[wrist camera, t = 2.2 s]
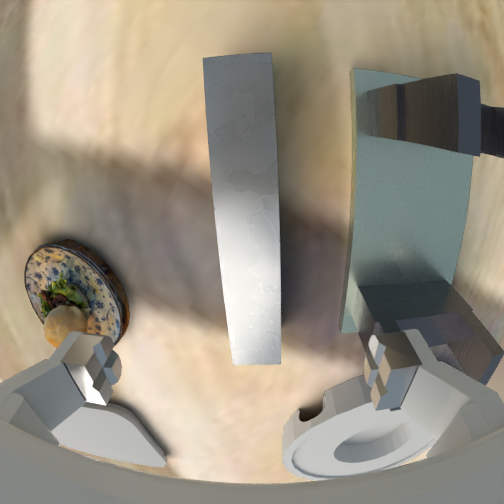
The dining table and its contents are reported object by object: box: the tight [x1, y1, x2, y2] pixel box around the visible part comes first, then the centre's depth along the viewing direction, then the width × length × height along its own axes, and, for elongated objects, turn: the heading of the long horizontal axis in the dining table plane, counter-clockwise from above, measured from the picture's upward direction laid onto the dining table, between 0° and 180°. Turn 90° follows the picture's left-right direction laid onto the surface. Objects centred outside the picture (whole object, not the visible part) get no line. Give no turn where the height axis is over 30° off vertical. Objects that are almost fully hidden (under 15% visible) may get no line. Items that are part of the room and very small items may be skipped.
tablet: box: [51, 402, 167, 467], centre depth 34 cm, size 16×26×2 cm, turn 100°
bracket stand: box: [339, 68, 504, 412], centre depth 15 cm, size 20×10×10 cm, turn 3°
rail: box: [203, 53, 281, 365], centre depth 19 cm, size 20×4×4 cm, turn 3°
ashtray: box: [282, 375, 437, 481], centre depth 30 cm, size 23×23×4 cm
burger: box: [25, 239, 129, 348], centre depth 21 cm, size 12×12×8 cm
